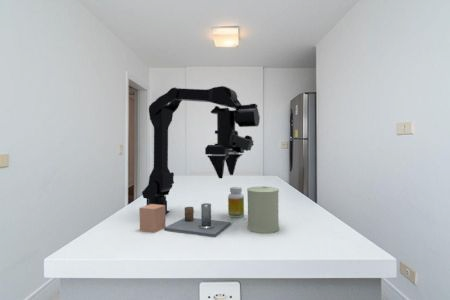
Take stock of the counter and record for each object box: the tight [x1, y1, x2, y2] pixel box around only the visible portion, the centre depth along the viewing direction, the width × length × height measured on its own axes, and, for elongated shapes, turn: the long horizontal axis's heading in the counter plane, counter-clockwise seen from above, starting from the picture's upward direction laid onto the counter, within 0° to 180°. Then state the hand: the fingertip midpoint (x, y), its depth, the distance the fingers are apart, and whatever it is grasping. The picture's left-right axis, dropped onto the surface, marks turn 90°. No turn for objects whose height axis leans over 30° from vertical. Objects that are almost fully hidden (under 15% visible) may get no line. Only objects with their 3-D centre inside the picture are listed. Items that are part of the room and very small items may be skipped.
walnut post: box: [184, 206, 195, 222], centre depth 83 cm, size 3×3×4 cm
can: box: [246, 186, 280, 234], centre depth 77 cm, size 9×9×12 cm
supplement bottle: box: [227, 186, 245, 219], centre depth 90 cm, size 5×5×10 cm
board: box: [163, 217, 232, 238], centre depth 78 cm, size 16×12×1 cm
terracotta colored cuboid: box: [138, 204, 167, 234], centre depth 77 cm, size 5×5×7 cm
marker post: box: [199, 202, 214, 229], centre depth 76 cm, size 4×4×6 cm
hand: (226, 176), depth 84 cm, fingers open, 9 cm apart
